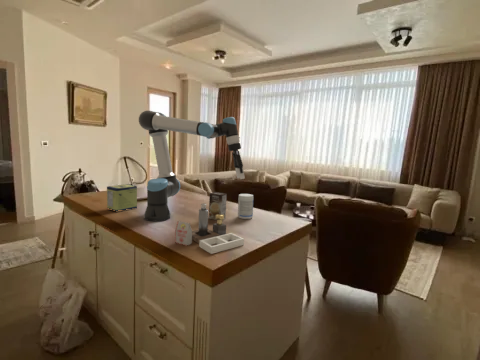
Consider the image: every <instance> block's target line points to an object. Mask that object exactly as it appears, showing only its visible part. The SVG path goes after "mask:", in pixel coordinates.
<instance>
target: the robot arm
mask: <svg viewBox="0 0 480 360" xmlns="http://www.w3.org/2000/svg"><path fill="white" fill-rule="evenodd" d="M138 123H139V126H140V127H141V128H142V129H144V130H145V131H148V135H149V137H151V139H152V143H153V149H154V155H155V158H156V164H157V171H158V176H157V177H156V178H152V179H149V180H148V181H147V185H146V194H147V199H146V200H147V201H146V202H147V204H146V205H147V206H146V209H145V212H144V214H143V215H144V217H143V218H144V219H143V220H145V221H147V222H162V221H163V222H164V221H167V220H170V219H171V212H170V208H169V206H168V203H169V202H168V200H169V199H168V198H170V197H174V196H176V195H177V194H178V193H179V192H180V190H181V183H180V181H179V179H178V178H177V176H176V173H174V172H173V167H172V161H171V160H172V159H171V155H170V150H169V145H168V139H167V135H168V133H169V131H172V132H176V133H177V132H178V133H184V134H189V135H196V136H201V137H205V138H206V139H208V140H211V139H214V138H219V137H223V136H225V138H226V143H227V148H228V152H231V153H232V154H231V155H232V159H233V166H234V168H235V174H236V179H240V180H244V179H246V178H245V177H246V176H245V171H244V164H243V161H242V157H241V155H240V154H241V152H240V150H241V149H242V146H241V143H240V139H241V137H240V136H239V131H238V125H237V121H236V118H235V117H233V116H228V117H225V118H223V119H222V122H220V123H218V124H217V123H216V124H214V123H213V124H212V123H210V122H203V121H202V122H201V121H197V120H191V119H183V118H177V117H170V116H166V114H163V113H161V112H159V111H153V110H144V111H142V112H141V113H140V114H139V116H138Z"/></svg>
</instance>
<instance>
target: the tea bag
mask: <svg viewBox="0 0 480 360" xmlns="http://www.w3.org/2000/svg"><path fill="white" fill-rule="evenodd" d="M192 231H193V230H192V227H191V223H190V222H185V221H180V220H178V221H177V223H176V227H175V231H174V236H175V237H174V243H175V242H176V243H175V244H178V243H179V245H182V244H183V246H186V247H187V245H188V246H190V245H191V244H193V240H192Z"/></svg>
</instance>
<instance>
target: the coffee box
mask: <svg viewBox="0 0 480 360" xmlns="http://www.w3.org/2000/svg"><path fill="white" fill-rule="evenodd" d="M227 197H228V196H227V193H224V192H218V191H213V192H210V193H209V207H208V220H209V219H210V220H214V221H217V220H216V214H223V215H224V220H226V214H227V213H226V212H227Z"/></svg>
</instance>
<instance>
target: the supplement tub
mask: <svg viewBox="0 0 480 360" xmlns="http://www.w3.org/2000/svg"><path fill="white" fill-rule="evenodd" d="M237 201H238V202H237V204H238V205H237V206H238V207H237V218H239V219H241V220H250V219H252V218H253V215H254V214H253V213H254V194H252V193H251V194H250V193H240V194H238V200H237Z"/></svg>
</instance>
